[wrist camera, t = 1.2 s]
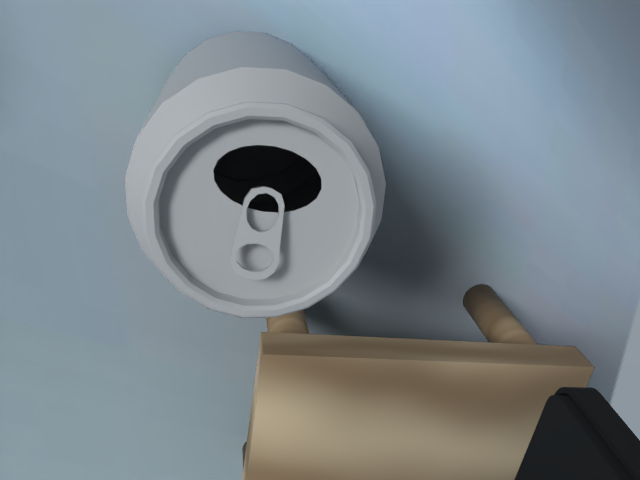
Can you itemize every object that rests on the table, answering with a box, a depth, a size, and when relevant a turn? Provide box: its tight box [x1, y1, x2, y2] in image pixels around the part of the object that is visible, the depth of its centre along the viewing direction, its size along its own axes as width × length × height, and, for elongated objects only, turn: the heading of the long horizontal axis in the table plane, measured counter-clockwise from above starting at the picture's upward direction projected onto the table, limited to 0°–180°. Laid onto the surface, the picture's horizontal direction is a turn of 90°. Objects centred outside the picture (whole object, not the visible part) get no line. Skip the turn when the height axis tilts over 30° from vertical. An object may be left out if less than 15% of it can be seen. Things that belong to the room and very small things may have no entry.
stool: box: [242, 284, 594, 480], centre depth 30 cm, size 14×14×8 cm
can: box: [125, 31, 386, 318], centre depth 21 cm, size 8×8×12 cm
